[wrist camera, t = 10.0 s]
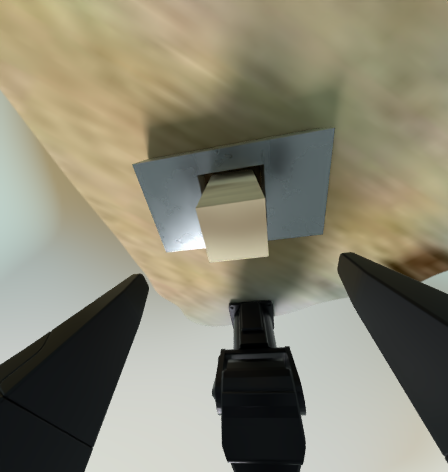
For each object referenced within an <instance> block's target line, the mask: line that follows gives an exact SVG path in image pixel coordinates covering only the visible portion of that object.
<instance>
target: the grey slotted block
mask: <svg viewBox="0 0 448 472" xmlns="http://www.w3.org/2000/svg"><path fill="white" fill-rule="evenodd" d="M334 130H335V128H317V129H311V130H306V131H300V132H295V133H289V134H284V135H278V136H273V137H267V138H262V139H256V140H251V141H246V142H240V143H235V144H229V145H224V146H218V147H213V148H207V149H202V150H196V151H191V152H185V153H180V154H174V155H169V156H163V157H158V158H152V159H147V160H144V161H141V162H138V163H135V164H132V165H133V168H134V170H135V173H136V175H137V178H138V181H139V183H140V186H141V188H142V191H143V194H144V196H145V199H146V201H147V204H148V206H149V209H150V212H151V214H152V217H153V219H154V222H155V224H156V227H157V230H158V232H159V235H160V237H161V240H162V242H163V245H164V248H165V250H166V252H172V251H181V250H190V249H199V248H206V247H205V243H204V239H203V235H202V232H201V228H200V224H199V220H198V216H197V212H196V206H197V204H198V202H199V200H200V198H201V196H202V194H203V192H204V190H205V188H206V183H205V179H204V174H208V173H214V172H220V171H226V170H232V169H238V168H244V167H250V166H256V165H260V173H261V188H262V193H263V195H264V197H265V205H266V221H267V238H268V241H269V240H277V239H286V238H295V237H304V236H312V235H321V234H323V229H324V220H325V211H326V202H327V193H328V184H329V175H330V166H331V157H332V148H333V139H334Z"/></svg>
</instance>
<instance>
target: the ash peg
mask: <svg viewBox="0 0 448 472" xmlns="http://www.w3.org/2000/svg"><path fill="white" fill-rule="evenodd" d="M196 212H197V216H198V220H199V224H200V228H201V232H202V235H203V239H204V243H205V247H206V251H207V255H208V259H209V263H210V262H220V261H229V260H239V259H248V258H258V257H267V256H269V254H268V238H267V221H266V205H265V197H264V195H263V193H262V190H261V188H260V186H259V184H258V182H257V179H256V177H255V175H254V173H253V171H252V169H247V170H241V171H235V172H229V173H223V174H217V175H212V176H211V178H210V180H209V182H208V184H207V186H206V188H205V190H204V192H203V194H202V196H201V198H200V200H199V202H198V204H197V206H196Z"/></svg>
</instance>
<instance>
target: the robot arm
mask: <svg viewBox="0 0 448 472" xmlns="http://www.w3.org/2000/svg"><path fill="white" fill-rule="evenodd" d="M338 274H339V276H340V278H341V281H342V283H343V285H344V287H345V289H346V291H347V294H348V296H349V298H350V300H351V302H352V304H353V306H354V308H355V309H356V311H357V313H358V315H359V316H360V318H361V320H362V321H363V323H364V324H365V326H366V328H367V330H368V331H369V333H370V334H371V336H372V338H373V339H374V341H375V343H376V345H377V346H378V348H379V350H380V351H381V353H382V354H383V356H384V358H385V359H386V361H387V363H388V364H389V366H390V368H391V369H392V371H393V373H394V374H395V376H396V378H397V379H398V381H399V383H400V384H401V386H402V387H403V389H404V391H405V393H406V394H407V396H408V397H409V399H410V401H411V403H412V404H413V406H414V407H415V409H416V411H417V412H418V414H419V416H420V417H421V419H422V421H423V422H424V424H425V426H426V427H427V429H428V431H429V432H430V434H431V436H432V437H433V439H434V441H435V442H436V444H437V446H438V447H439V449H440V451H441V452H442V454H443V455H444V456H445V459H446V461H447V463H448V294H446V293H444V292H442V291H439V290H437V289H435V288H433V287H430V286H428V285H426V284H423V283H421V282H419V281H417V280H414V279H412V278H410V277H408V276H405V275H403V274H401V273H398V272H396V271H394V270H391V269H389V268H387V267H385V266H382V265H380V264H378V263H375V262H373V261H371V260H369V259H366V258H364V257H362V256H359V255H357V254H355V253H352V252H348V253H342V254H340V257H339V262H338ZM148 291H149V286H148V284H147V282H146V280H145V278H144V276H143V275H142V274H133V275H131V276H130V277H128V278H127V279H125V280H124V281H123V282H121V283H120V284H118V285H117V286H115V287H114V288H112V289H111V290H110V291H108V292H107V293H105V294H104V295H102V296H101V297H99V298H98V299H96V300H95V301H94V302H92V303H91V304H89V305H88V306H86V307H85V308H84V309H82V310H81V311H79V312H78V313H76V314H75V315H73V316H72V317H70V318H69V319H68V320H66V321H65V322H63V323H62V324H60V325H59V326H57V327H56V328H55V329H53V330H52V331H51V332H49V333H47V334H46V335H44V336H43V337H41V338H40V339H38V340H37V341H35V342H34V343H32V344H31V345H30V346H28V347H27V348H25V349H24V350H22V351H21V352H19V353H18V354H16V355H14V356H13V357H11V358H10V359H8V360H7V361H5V362H4V363H2V364H1V365H0V472H84V471H85V468H86V466H87V463H88V461H89V458H90V455H91V453H92V450H93V448H92V447H94V444H95V442H96V439H97V436H98V433H99V431H100V428H101V426H102V422H103V420H104V417H105V415H106V412H107V409H108V406H109V404H110V401H111V399H112V396H113V393H114V391H115V388H116V385H117V383H118V380H119V377H120V375H121V372H122V369H123V367H124V364H125V361H126V359H127V356H128V353H129V350H130V348H131V345H132V343H133V340H134V337H135V334H136V332H137V329H138V327H139V324H140V321H141V317H142V314H143V311H144V307H145V302H146V299H147V295H148ZM229 312H230V316H231V320H232V325H233V329H234V349H233V350H225V349H221V354H220V356H219V358H218V367H217V374H216V378H215V382H214V385H213V389H212V396H213V397H214V399H215V401H216V407H217V413H218V415H221V421H222V447H223V450H224V453H225V456H226V459H227V461H228V463H231V465H232V468H233V470H234V472H300V468H301V465H303V462H304V455H305V449H306V446H305V444H306V442H305V435H304V429H303V424H302V419H301V415H306V407H305V400H304V395H303V390H302V386H301V382H300V378H299V375H298V372H297V369H296V366H295V363H294V360H293V357H292V354H291V351H290V347H289V346H285V347H283V348H282V347H281V348H277V347H276V342H275V336H274V331H273V329H274V319H273V304H272V301H257V302H244V303H231V304H229Z"/></svg>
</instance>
